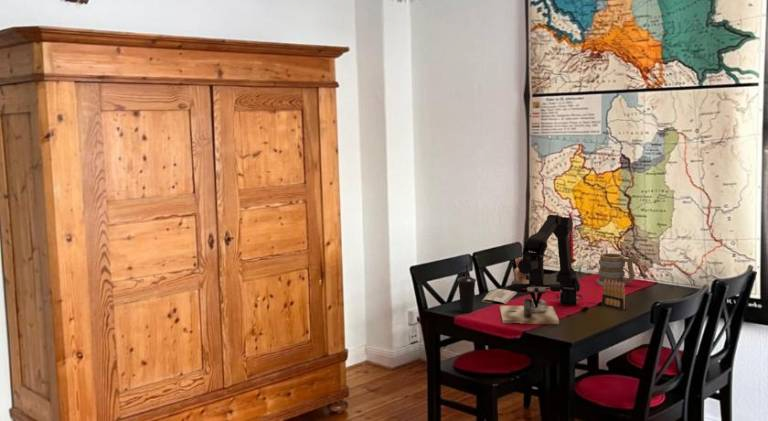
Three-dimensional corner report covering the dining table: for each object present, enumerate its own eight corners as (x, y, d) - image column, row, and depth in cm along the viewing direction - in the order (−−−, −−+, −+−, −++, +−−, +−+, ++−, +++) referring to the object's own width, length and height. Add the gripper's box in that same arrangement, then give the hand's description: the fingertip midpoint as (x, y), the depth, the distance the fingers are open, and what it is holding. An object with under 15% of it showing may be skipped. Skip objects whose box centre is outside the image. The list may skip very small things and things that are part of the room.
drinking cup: (464, 314, 329) (464, 267, 327) (454, 310, 336) (454, 264, 333) (479, 312, 333) (479, 265, 330) (469, 308, 340) (469, 262, 337)
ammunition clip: (625, 309, 333) (626, 281, 331) (623, 310, 332) (624, 282, 330) (604, 305, 341) (604, 277, 340) (601, 305, 340) (602, 278, 338)
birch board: (552, 309, 335) (552, 305, 335) (558, 324, 313) (559, 319, 313) (499, 309, 337) (499, 305, 337) (502, 323, 315) (502, 319, 315)
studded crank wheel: (527, 306, 334) (527, 289, 333) (548, 308, 330) (548, 291, 329) (515, 316, 319) (515, 298, 318) (537, 318, 315) (537, 301, 314)
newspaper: (490, 292, 370) (491, 287, 369) (516, 297, 365) (517, 291, 364) (477, 303, 349) (477, 297, 348) (504, 308, 344) (504, 303, 344)
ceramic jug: (529, 283, 383) (529, 254, 381) (552, 288, 372) (552, 259, 370) (502, 289, 373) (502, 259, 371) (525, 294, 361) (525, 264, 359)
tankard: (592, 284, 380) (593, 253, 378) (606, 279, 389) (607, 249, 386) (630, 291, 366) (631, 259, 363) (644, 286, 374) (645, 255, 372)
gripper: (560, 265, 321) (560, 302, 323) (513, 264, 325) (513, 301, 327) (560, 271, 310) (560, 310, 312) (511, 270, 314) (512, 308, 316)
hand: (536, 307), depth 317 cm, fingers closed
